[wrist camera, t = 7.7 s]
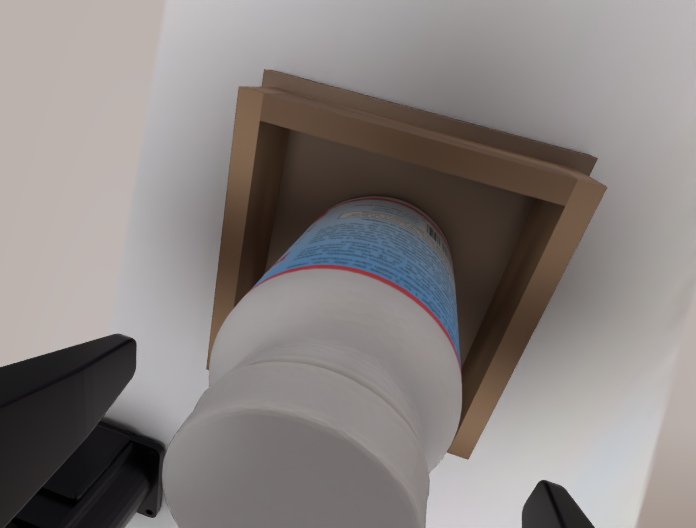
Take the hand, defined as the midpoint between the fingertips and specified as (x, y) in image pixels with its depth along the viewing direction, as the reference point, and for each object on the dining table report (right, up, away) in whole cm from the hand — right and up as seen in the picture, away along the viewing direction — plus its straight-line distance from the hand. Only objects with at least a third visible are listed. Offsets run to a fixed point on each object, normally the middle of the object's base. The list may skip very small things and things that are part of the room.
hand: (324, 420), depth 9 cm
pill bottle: (+2, +3, +8) cm, 9 cm away
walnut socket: (+2, +4, +9) cm, 10 cm away
